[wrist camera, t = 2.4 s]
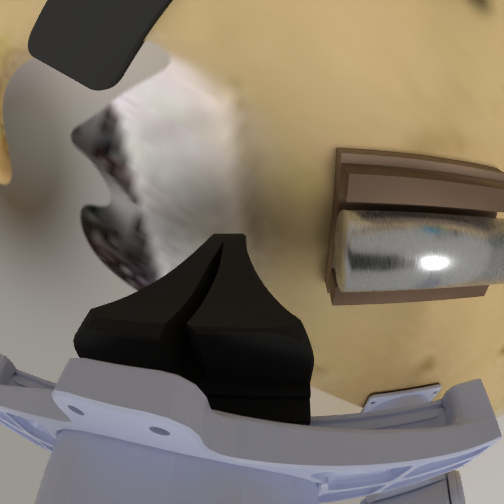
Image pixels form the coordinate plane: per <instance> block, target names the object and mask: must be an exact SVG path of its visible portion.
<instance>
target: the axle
mask: <svg viewBox="0 0 504 504" xmlns="http://www.w3.org/2000/svg"><path fill="white" fill-rule="evenodd" d="M334 260H335V273H336V279H337V284H338V287H339V289H340V291H341V292H371V291H397V290H419V289H437V288H452V287H467V286H480V285H492V284H503V283H504V219H502V218H491V217H479V216H466V215H451V214H435V213H416V212H394V211H366V210H341V211H340V213H339V215H338V218H337V223H336V229H335V242H334Z"/></svg>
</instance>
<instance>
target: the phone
mask: <svg viewBox="0 0 504 504" xmlns="http://www.w3.org/2000/svg"><path fill="white" fill-rule="evenodd" d="M171 2H172V0H47V2H46V4H45V6H44V7H43V9H42V11H41V13H40V15H39V17H38V19H37V21H36V23H35V25H34V27H33V29H32V31H31V34H30V37H29V41H28V49H29V52H30V54H31V55H32V56H33V57H35V58H36V59H38V60H40V61H42V62H44V63H45V64H47V65H49V66H51V67H53V68H54V69H56V70H58V71H60V72H61V73H63V74H65V75H67V76H68V77H70V78H72V79H74V80H75V81H77V82H79V83H81V84H83V85H84V86H86V87H88V88H90V89H92V90H105V89H110V88H112V87H114V86H115V85H116V84H117V83H118V82H119V81H120V80H121V79H122V77H123V76H124V74H125V72H126V71H127V69H128V68H129V66H130V64H131V63H132V61H133V59H134V58H135V56H136V54H137V53H138V51H139V50H140V48H141V47H142V45H143V44H144V42H145V41H146V40H144V39H145V37H146V36H147V34H148V33H149V31H150V30H151V28H152V27H153V26H154V24H155V23H156V21H157V20H158V19H159V17H160V16H161V15H162V13H163V12H164V11H165V9H166V8H167V7H168V6H169V4H170V3H171Z"/></svg>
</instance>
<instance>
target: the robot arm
mask: <svg viewBox="0 0 504 504" xmlns="http://www.w3.org/2000/svg"><path fill="white" fill-rule="evenodd" d="M73 342H74V347H75V350H76V351H77V354H78V356H79V357H80V358H70V359H69V361H68V363H67V364H66V366H65V368H64V370H63V372H62V374H61V376H60V378H59V380H58V382H57V384H56V383H53V382H50V381H47V380H44V379H41V378H39V377H36V376H33V375H30V374H27V373H25V372H22V371H20V370H17V369H16V368H15V366H14V365H13V363H12V362H11V361H10V360H9V359H8V358H7V357H6V356H4V355H2V354H0V423H1V424H3V425H4V426H6V427H7V428H9V429H11V430H12V431H14V432H16V433H17V434H19V435H21V436H22V437H24V438H26V439H28V440H29V441H31V442H33V443H35V444H36V445H38V446H40V447H42V448H43V449H46V450H47V451H49V452H51V455H50V458H49V461H48V463H47V466H46V469H45V472H44V475H43V478H42V481H41V484H40V487H39V490H38V494H37V498H36V500H35V504H319V503H327V502H334V501H341V500H346V499H352V498H358V497H362V496H366V498H364V499H363V500H362V501H361V503H360V504H465V498H464V492H463V487H462V482H461V477H460V473H459V471H456V470H455V469H458V468H460V467H463V466H464V465H466V464H467V463H469V462H470V461H472V460H473V459H475V458H476V457H478V456H479V455H480V454H482V453H483V452H484V451H486V450H487V449H489V448H490V447H491V446H492V445H494V444H495V443H496V442H498V441H499V440H500V439H501V437H502V436H501V432H500V429H499V426H498V423H497V420H496V417H495V414H494V412H493V409H492V406H491V403H490V401H489V398H488V396H487V393H486V390H485V388H484V386H483V383H482V381H481V379H476V380H472V381H468V382H464V383H461V384H457V385H455V386H453V387H451V388H450V389H449V390H448V391H447V392H446V393H445V394H444V396H443V398H442V399H441V400H436V401H432V400H433V398H434V397H435V396H436V395H437V393H438V392H439V391H440V389H441V385H440V384H437V385H432V386H427V387H422V388H416V389H410V390H404V391H397V392H390V393H383V394H375V395H372V396H370V397H369V399H368V400H367V402H366V404H365V406H364V408H363V409H362V411H361V413H356V414H346V415H333V416H316V417H311V415H310V395H311V391H310V381H311V376H312V371H313V366H314V355H313V351H312V347H311V344H310V341H309V338H308V335H307V333H306V331H305V328H304V326H303V324H302V322H301V320H300V319H298V318H297V317H296V316H294V315H293V314H292V313H290V312H289V311H287V310H286V309H285V308H284V307H283V306H282V305H281V304H280V303H279V302H278V301H277V300H276V299H275V298H274V297H273V295H272V294H271V293H270V292H269V291H268V290H267V288H266V287H265V286H264V284H263V283H262V281H261V280H260V278H259V276H258V275H257V273H256V271H255V269H254V267H253V265H252V263H251V260H250V258H249V255H248V252H247V245H246V236H245V235H244V234H213V235H212V236H211V237H210V238H209V239H208V240H207V241H206V242H205V243H204V244H203V245H201V246H200V247H199V248H198V249H197V250H196V251H195V252H194V253H193V254H192V255H191V256H190V257H188V258H187V259H186V260H185V261H183V262H182V263H181V264H180V265H179V266H177V267H176V268H175V269H174V270H172V271H171V272H169V273H168V274H167V275H165V276H164V277H162V278H160V279H159V280H157V281H156V282H154V283H152V284H150V285H148V286H147V287H145V288H143V289H141V290H139V291H137V292H135V293H133V294H131V295H129V296H127V297H124V298H122V299H119V300H117V301H114V302H111V303H108V304H106V305H102V306H99V307H96V308H93V309H91V310H90V311H89V313H88V314H87V316H86V318H85V319H84V321H83V322H82V324H81V326H80V328H79V329H78V331H77V333H76V334H75V337H74V340H73ZM431 401H432V402H431Z"/></svg>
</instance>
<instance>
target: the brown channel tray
mask: <svg viewBox="0 0 504 504" xmlns="http://www.w3.org/2000/svg"><path fill="white" fill-rule="evenodd" d="M341 210H366V211H394V212H416V213H435V214H451V215H466V216H479V217H491V218H496V216H497V212H504V172H502V171H500V170H499V169H497V168H493V167H488V166H483V165H478V164H473V163H468V162H462V161H456V160H450V159H444V158H437V157H430V156H422V155H414V154H406V153H397V152H387V151H375V150H362V149H346V148H337V155H336V174H335V189H334V202H333V214H332V225H331V236H330V245H329V254H328V263H327V271H326V279H325V283H326V288H327V293H330V296H331V301H332V305H361V304H384V303H402V302H418V301H432V300H445V299H457V298H468V297H478V296H484V295H485V293H486V291H487V289H488V286H489V285H480V286H467V287H452V288H437V289H419V290H397V291H371V292H341V291H340V289H339V287H338V284H337V279H336V273H335V260H334V242H335V229H336V223H337V218H338V215H339V213H340V211H341Z"/></svg>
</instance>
